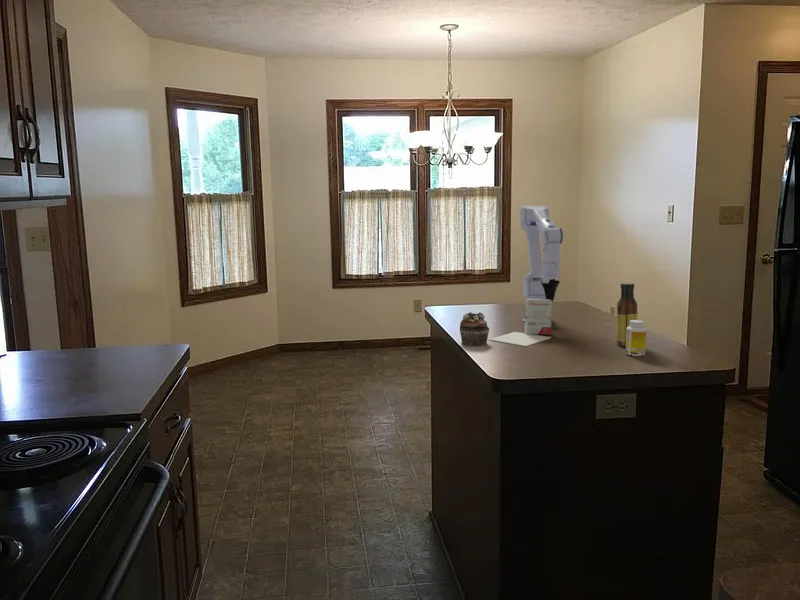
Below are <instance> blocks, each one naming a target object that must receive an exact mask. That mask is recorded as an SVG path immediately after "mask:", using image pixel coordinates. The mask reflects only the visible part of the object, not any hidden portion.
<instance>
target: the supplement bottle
mask: <svg viewBox="0 0 800 600" xmlns="http://www.w3.org/2000/svg"><path fill="white" fill-rule="evenodd" d="M644 326H645V321H644V320H641V319H638V320H630V326H629V327H627V330H626V347H625V354H626V355H627V354H628V356H630V355H632V357H643V356H645V355H646V349H647V348H646V346H647V344H646V343H647V328H646V327H644ZM642 355H643V356H642Z"/></svg>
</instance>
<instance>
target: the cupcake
mask: <svg viewBox="0 0 800 600" xmlns="http://www.w3.org/2000/svg"><path fill="white" fill-rule="evenodd" d="M485 318H486V316H485V315H484V313H482V312H478V313H473V312H468V313H465V314H464V315H463V316H462V319H461V321H460V323H459V333H460V338H461V339H460V340H461V344H462V345H463V346H467V347H468V346H469V347H483V346H486V345H487V343H488V338H489V333H490V328H489V326H488V321H486V320H485Z"/></svg>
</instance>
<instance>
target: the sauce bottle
mask: <svg viewBox="0 0 800 600" xmlns="http://www.w3.org/2000/svg"><path fill="white" fill-rule="evenodd" d="M620 289H621V290H620V298H619V300H618V301H617V304H616V343H617V345H618V346H619V347H624V346H625V348H626V330H627V327H629V326H630V320H639V319H638V315H639V314H638V313H639V312H638V303H637V301H636V299H635V295H634V294H635V293H634V291H635V283H634V282H621V283H620Z"/></svg>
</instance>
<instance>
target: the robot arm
mask: <svg viewBox="0 0 800 600" xmlns="http://www.w3.org/2000/svg"><path fill="white" fill-rule="evenodd" d="M519 217H520V218H519V220H520V227H521V231H522V230H523V231H525V235H526V242H527V243H526V245H527V254H528V264H529V273H528V274H526V275H525V276H524V278H523V280H522V281H523V282H522V283H523V285H522V293H523V296H524V297H525V298H526V299H549V300H551V301H552V302H554V299H555V297H556V296H555V295H556V292H557V289H558V286H559V285H560V282H561V280H556V279H560V259H561V245H562V243H563V239H564V231H563V228H562V227H560V226H559V227H557V226H556V224H555V223H554V221H553V220H552V219H551V218H550V210H549V207H548V205H522V206H521V208H520V213H519ZM540 239H541V240H540ZM541 249H542V252H541ZM521 321H522V322H525V318H523V319H521ZM551 321H553V318H552V320H551Z"/></svg>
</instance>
